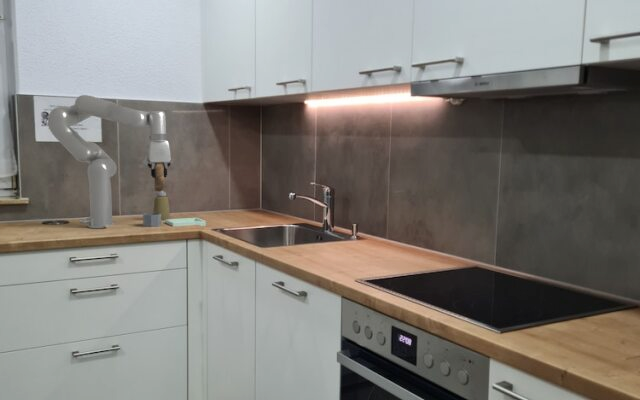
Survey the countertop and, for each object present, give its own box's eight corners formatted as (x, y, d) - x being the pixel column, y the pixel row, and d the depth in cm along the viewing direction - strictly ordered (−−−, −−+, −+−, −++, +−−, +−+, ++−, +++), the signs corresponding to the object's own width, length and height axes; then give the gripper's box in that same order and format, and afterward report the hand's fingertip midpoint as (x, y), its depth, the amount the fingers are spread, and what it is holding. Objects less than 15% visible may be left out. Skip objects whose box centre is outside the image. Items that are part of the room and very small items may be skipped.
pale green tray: (173, 228, 271) (173, 223, 270) (165, 224, 281) (165, 219, 281) (205, 225, 279) (205, 220, 279) (196, 222, 289) (196, 217, 289)
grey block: (145, 229, 266) (145, 215, 265) (140, 227, 273) (140, 213, 272) (163, 228, 270) (163, 214, 270) (158, 225, 277) (158, 212, 277)
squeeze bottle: (172, 220, 296) (171, 184, 294) (166, 222, 288) (166, 186, 286) (156, 219, 297) (156, 184, 295) (150, 221, 289) (150, 185, 287)
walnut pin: (156, 191, 268) (155, 163, 267) (153, 190, 272) (152, 162, 270) (165, 190, 270) (164, 162, 269) (163, 189, 274) (162, 162, 273)
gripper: (141, 138, 261) (143, 178, 263) (178, 137, 270) (179, 177, 272) (137, 138, 267) (138, 177, 269) (173, 137, 276) (174, 176, 278)
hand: (159, 176), depth 271 cm, fingers closed on walnut pin, 4 cm apart
